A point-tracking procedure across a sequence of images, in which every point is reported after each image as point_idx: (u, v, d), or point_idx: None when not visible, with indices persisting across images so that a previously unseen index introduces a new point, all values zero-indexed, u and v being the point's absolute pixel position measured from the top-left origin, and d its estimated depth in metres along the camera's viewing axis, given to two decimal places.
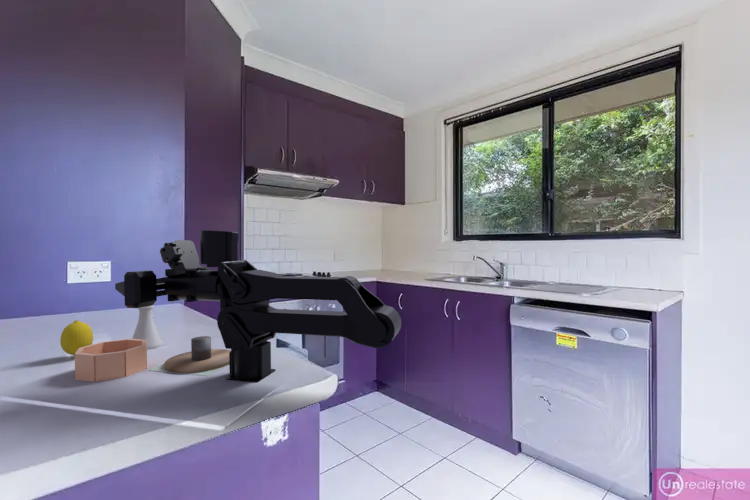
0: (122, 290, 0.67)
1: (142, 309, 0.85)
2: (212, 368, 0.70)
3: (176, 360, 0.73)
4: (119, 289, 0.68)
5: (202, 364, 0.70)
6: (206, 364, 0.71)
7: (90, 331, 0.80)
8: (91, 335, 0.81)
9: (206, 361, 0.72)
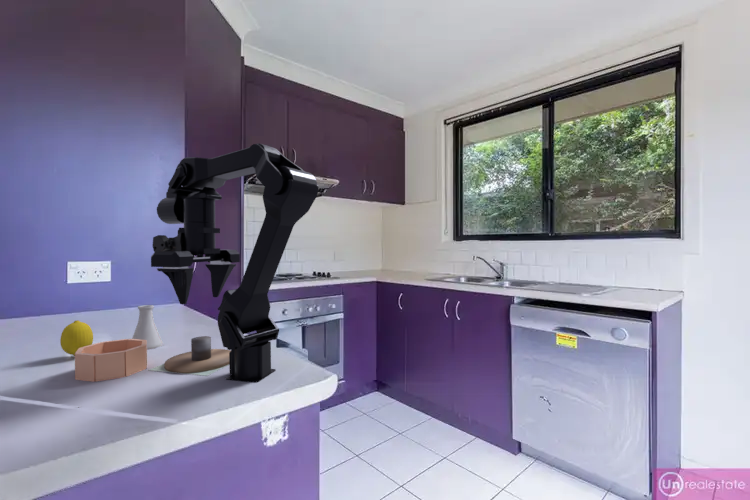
0: (182, 291, 0.69)
1: (142, 309, 0.85)
2: (212, 368, 0.70)
3: (176, 360, 0.73)
4: (182, 295, 0.69)
5: (202, 364, 0.70)
6: (206, 364, 0.71)
7: (90, 331, 0.80)
8: (91, 335, 0.81)
9: (206, 361, 0.72)
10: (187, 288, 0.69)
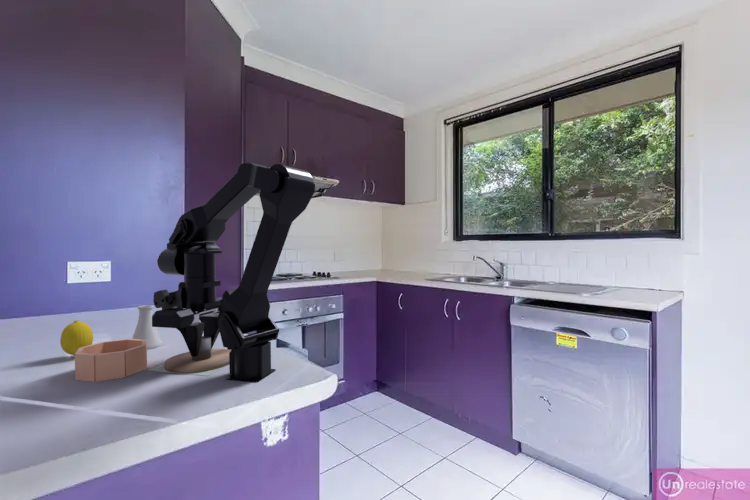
0: (193, 344, 0.71)
1: (142, 309, 0.85)
2: (211, 368, 0.70)
3: (176, 360, 0.73)
4: (193, 349, 0.72)
5: (202, 364, 0.70)
6: (206, 363, 0.71)
7: (90, 331, 0.80)
8: (91, 335, 0.81)
9: (206, 361, 0.72)
10: (198, 342, 0.71)
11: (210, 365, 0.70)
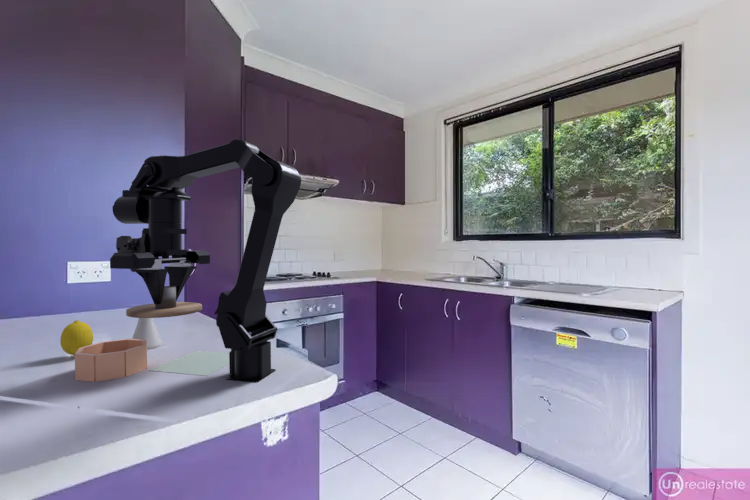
0: (155, 291, 0.70)
1: None
2: (173, 315, 0.68)
3: (139, 308, 0.71)
4: (156, 296, 0.70)
5: (163, 311, 0.68)
6: (168, 311, 0.69)
7: (90, 331, 0.80)
8: (91, 335, 0.81)
9: (169, 309, 0.71)
10: (160, 288, 0.69)
11: (172, 312, 0.68)
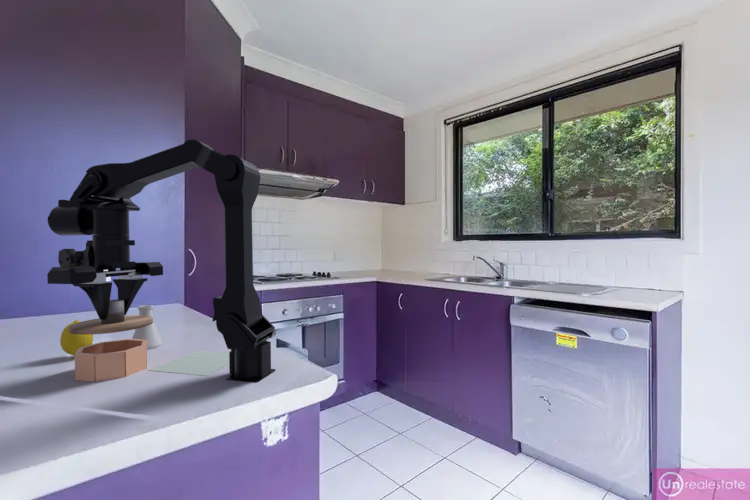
0: (100, 306, 0.67)
1: (142, 309, 0.85)
2: (117, 330, 0.65)
3: (84, 324, 0.68)
4: (101, 311, 0.67)
5: (108, 326, 0.66)
6: (113, 326, 0.66)
7: None
8: (91, 335, 0.81)
9: (115, 324, 0.68)
10: (105, 303, 0.67)
11: (116, 327, 0.65)
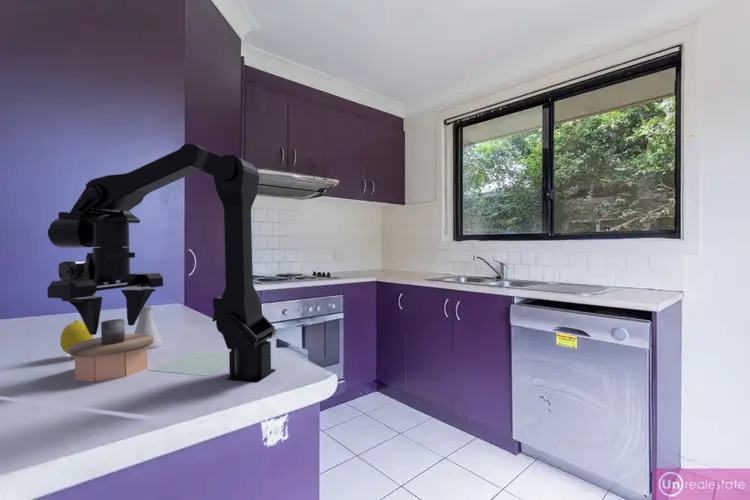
0: (90, 321, 0.65)
1: (142, 309, 0.85)
2: (118, 352, 0.65)
3: (84, 344, 0.68)
4: (91, 326, 0.65)
5: (108, 348, 0.66)
6: (114, 347, 0.66)
7: None
8: (91, 335, 0.81)
9: (115, 345, 0.68)
10: (95, 318, 0.65)
11: (116, 349, 0.65)
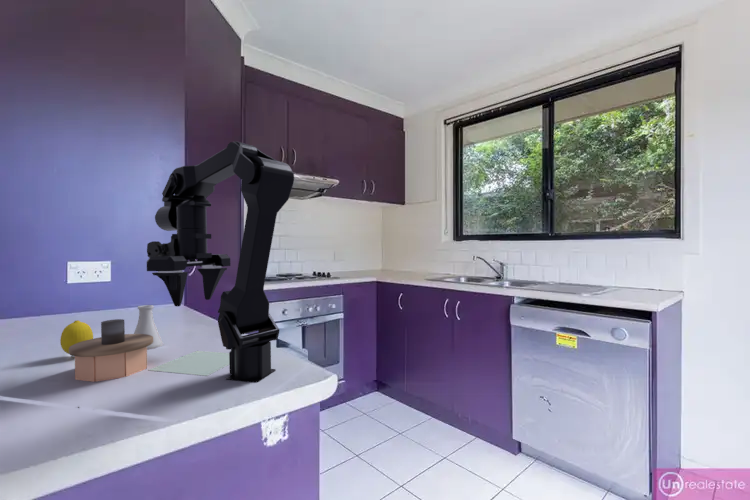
0: (176, 294, 0.73)
1: (142, 309, 0.85)
2: (118, 352, 0.65)
3: (84, 344, 0.68)
4: (176, 298, 0.73)
5: (108, 348, 0.66)
6: (114, 347, 0.66)
7: (90, 331, 0.80)
8: (91, 335, 0.81)
9: (115, 345, 0.68)
10: (181, 291, 0.73)
11: (116, 349, 0.65)
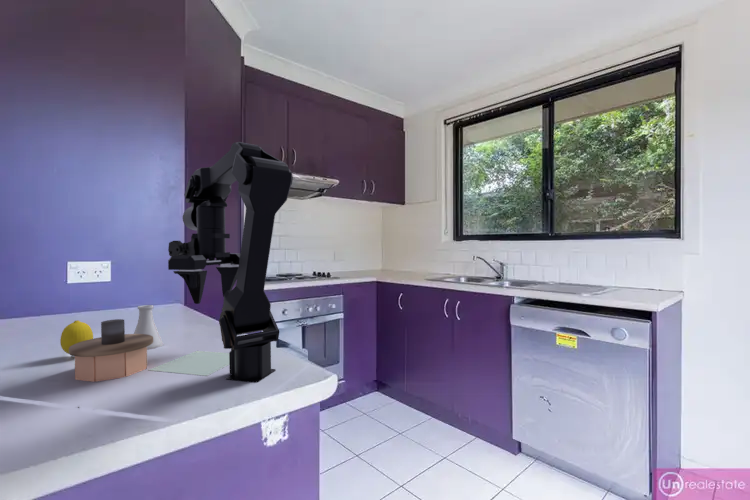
0: (196, 291, 0.75)
1: (142, 309, 0.85)
2: (118, 352, 0.65)
3: (84, 344, 0.68)
4: (196, 296, 0.75)
5: (108, 348, 0.66)
6: (114, 347, 0.66)
7: (90, 331, 0.80)
8: (91, 335, 0.81)
9: (115, 345, 0.68)
10: (201, 289, 0.75)
11: (116, 349, 0.65)
